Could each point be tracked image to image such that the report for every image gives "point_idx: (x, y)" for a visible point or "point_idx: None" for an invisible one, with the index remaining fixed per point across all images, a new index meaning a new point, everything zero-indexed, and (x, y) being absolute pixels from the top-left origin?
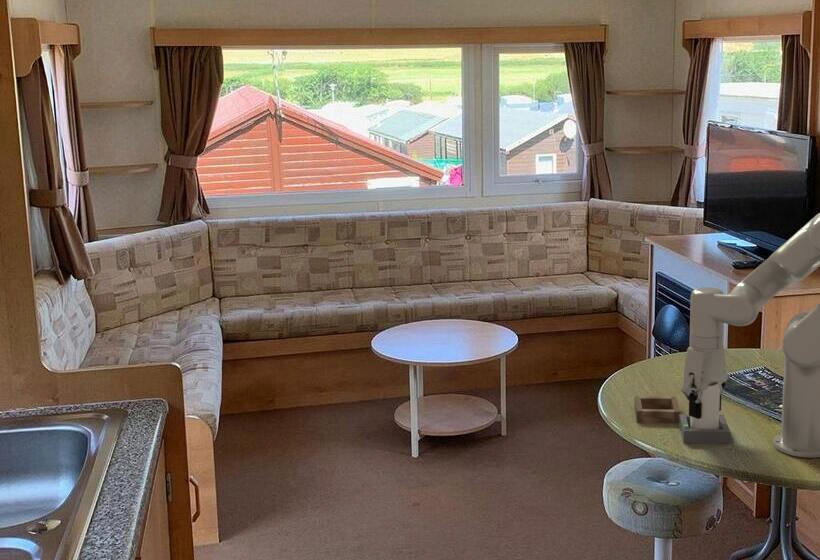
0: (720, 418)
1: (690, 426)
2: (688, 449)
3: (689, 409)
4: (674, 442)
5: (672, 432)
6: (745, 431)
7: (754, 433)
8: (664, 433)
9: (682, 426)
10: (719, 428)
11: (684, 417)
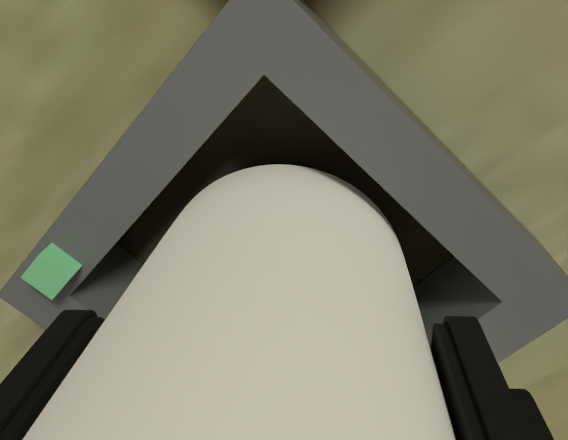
0: (482, 328)
1: (193, 198)
2: (21, 320)
3: (25, 365)
4: (4, 195)
5: (114, 46)
6: (559, 380)
7: (563, 427)
8: (38, 14)
9: (50, 227)
10: (424, 298)
11: (230, 83)
